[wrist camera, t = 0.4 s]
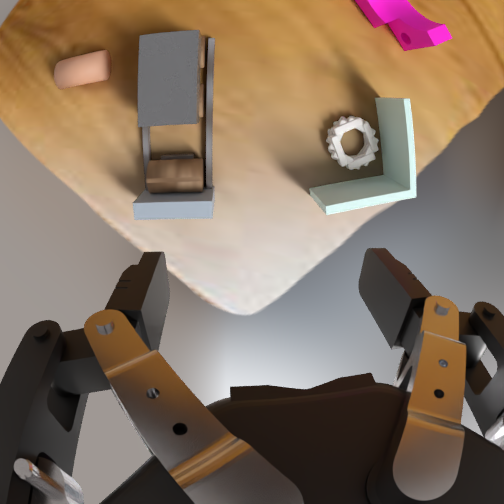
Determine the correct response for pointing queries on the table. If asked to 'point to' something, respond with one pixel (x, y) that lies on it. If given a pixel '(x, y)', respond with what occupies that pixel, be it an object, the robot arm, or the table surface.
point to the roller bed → (184, 165)
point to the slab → (169, 78)
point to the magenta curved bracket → (405, 23)
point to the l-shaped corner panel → (393, 157)
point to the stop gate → (174, 205)
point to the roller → (83, 69)
